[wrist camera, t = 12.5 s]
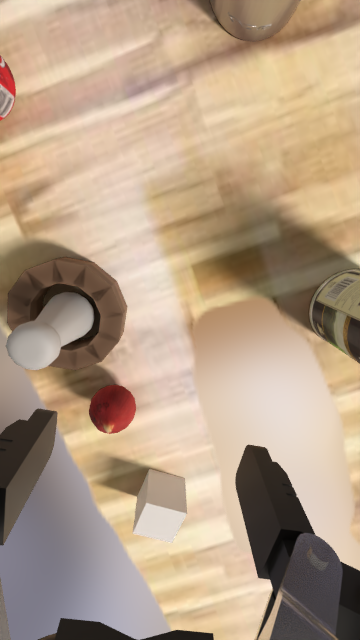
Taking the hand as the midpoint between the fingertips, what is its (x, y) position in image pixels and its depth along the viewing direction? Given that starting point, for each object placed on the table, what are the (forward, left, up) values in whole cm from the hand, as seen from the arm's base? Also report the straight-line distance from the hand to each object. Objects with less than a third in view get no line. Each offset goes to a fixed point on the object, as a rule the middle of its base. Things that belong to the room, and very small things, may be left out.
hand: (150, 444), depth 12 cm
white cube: (+30, +5, -26) cm, 40 cm away
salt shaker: (+3, -11, -26) cm, 28 cm away
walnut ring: (+3, -11, -26) cm, 28 cm away
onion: (+14, -4, -26) cm, 30 cm away
